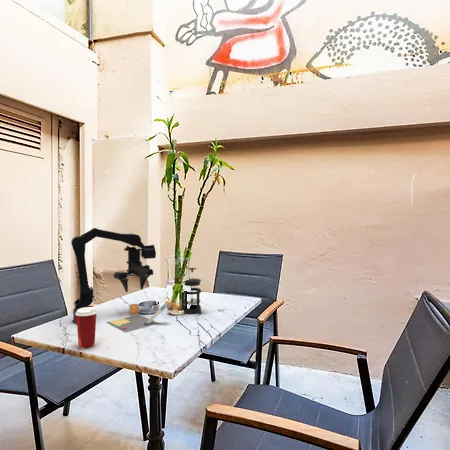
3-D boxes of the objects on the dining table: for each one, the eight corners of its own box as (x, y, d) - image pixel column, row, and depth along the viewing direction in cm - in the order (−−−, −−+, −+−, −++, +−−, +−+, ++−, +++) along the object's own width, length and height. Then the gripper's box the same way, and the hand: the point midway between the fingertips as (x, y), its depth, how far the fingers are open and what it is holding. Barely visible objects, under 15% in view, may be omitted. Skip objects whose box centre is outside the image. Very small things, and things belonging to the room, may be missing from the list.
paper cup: (101, 343, 132) (101, 307, 131) (87, 351, 124) (87, 313, 124) (85, 340, 134) (85, 305, 134) (70, 348, 127) (70, 311, 126)
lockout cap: (132, 316, 165) (132, 306, 165) (128, 314, 169) (128, 304, 168) (140, 315, 169) (140, 305, 168) (136, 313, 172) (135, 303, 171)
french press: (193, 309, 179) (193, 265, 178) (206, 312, 173) (206, 267, 172) (176, 314, 170) (176, 268, 169) (189, 318, 164) (189, 270, 163)
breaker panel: (125, 334, 142) (125, 331, 142) (105, 324, 154) (105, 321, 154) (159, 325, 154) (159, 322, 154) (138, 316, 166) (138, 313, 166)
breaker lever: (146, 321, 152) (163, 304, 151) (148, 319, 155) (165, 303, 154) (148, 324, 152) (165, 307, 151) (151, 321, 155) (168, 305, 154)
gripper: (124, 263, 155) (124, 297, 156) (159, 259, 168) (159, 290, 169) (113, 260, 163) (113, 292, 164) (147, 257, 176) (147, 287, 177)
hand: (134, 290), depth 168 cm, fingers open, 8 cm apart
